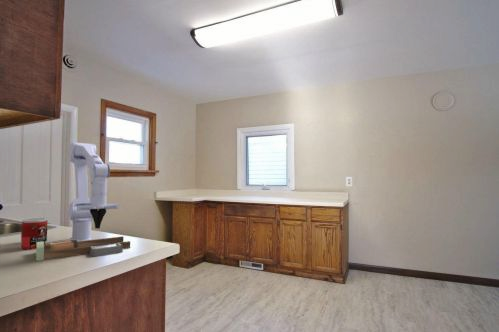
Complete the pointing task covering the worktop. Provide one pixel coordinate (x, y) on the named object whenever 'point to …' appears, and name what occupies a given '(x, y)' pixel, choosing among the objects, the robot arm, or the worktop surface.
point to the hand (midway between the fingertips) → (97, 228)
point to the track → (83, 247)
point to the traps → (98, 250)
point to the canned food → (32, 232)
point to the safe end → (40, 251)
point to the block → (62, 245)
